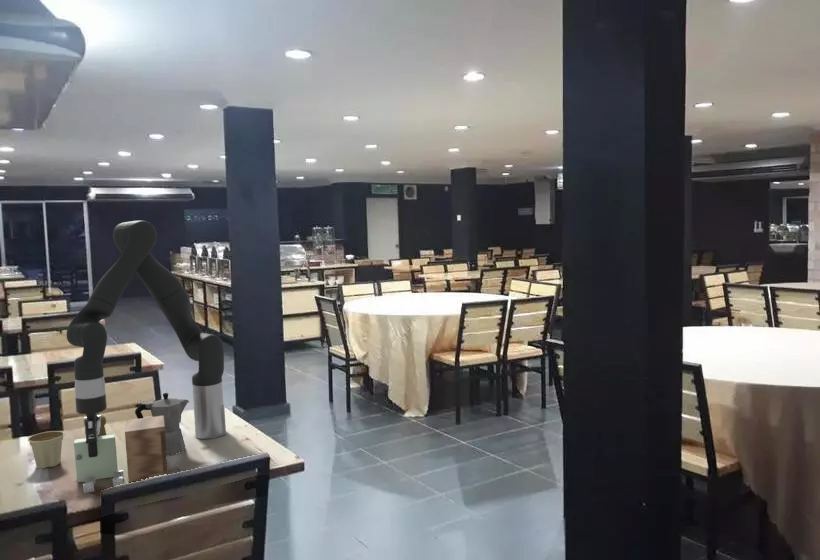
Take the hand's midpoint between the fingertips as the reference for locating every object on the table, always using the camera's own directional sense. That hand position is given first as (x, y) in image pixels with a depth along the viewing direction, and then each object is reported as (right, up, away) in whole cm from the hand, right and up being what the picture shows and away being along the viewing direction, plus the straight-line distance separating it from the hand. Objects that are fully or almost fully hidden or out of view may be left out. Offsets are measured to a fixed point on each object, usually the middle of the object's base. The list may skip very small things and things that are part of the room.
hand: (94, 451), depth 182 cm
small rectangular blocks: (+5, -8, -5) cm, 11 cm away
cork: (-9, -6, +22) cm, 24 cm away
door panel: (0, -7, +1) cm, 7 cm away
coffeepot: (+12, -5, +20) cm, 24 cm away
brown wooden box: (+13, -7, +3) cm, 15 cm away
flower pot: (-19, -7, +12) cm, 23 cm away
